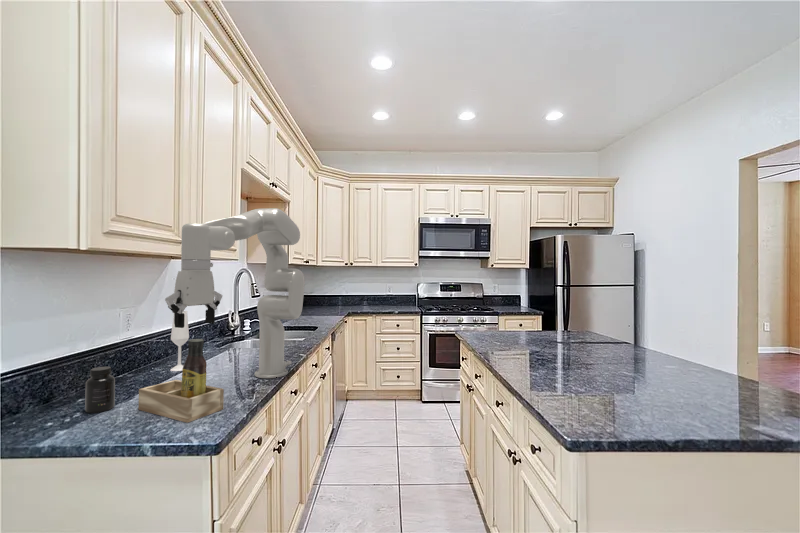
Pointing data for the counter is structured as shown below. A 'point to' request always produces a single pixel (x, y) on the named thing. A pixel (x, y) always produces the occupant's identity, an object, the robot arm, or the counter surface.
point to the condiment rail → (179, 401)
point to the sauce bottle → (194, 370)
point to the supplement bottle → (100, 390)
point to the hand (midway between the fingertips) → (195, 325)
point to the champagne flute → (180, 339)
